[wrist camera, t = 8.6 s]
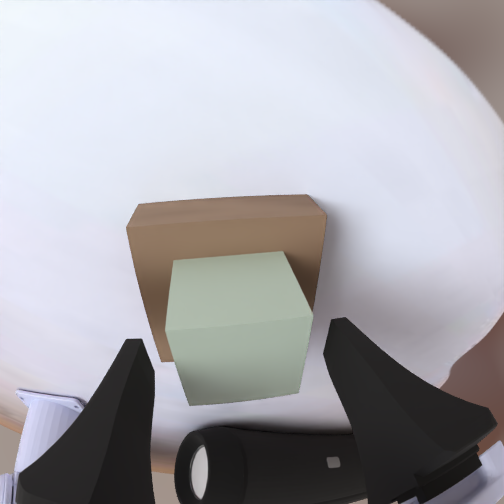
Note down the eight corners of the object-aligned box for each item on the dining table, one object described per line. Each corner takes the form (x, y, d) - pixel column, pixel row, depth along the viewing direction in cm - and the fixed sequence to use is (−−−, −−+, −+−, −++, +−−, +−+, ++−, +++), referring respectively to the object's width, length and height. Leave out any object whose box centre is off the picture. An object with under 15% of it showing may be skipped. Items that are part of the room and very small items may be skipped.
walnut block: (292, 314, 18) (305, 348, 16) (164, 324, 17) (161, 362, 15) (304, 191, 14) (327, 215, 12) (140, 200, 13) (125, 227, 11)
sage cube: (278, 328, 14) (298, 392, 11) (188, 337, 14) (189, 405, 10) (282, 251, 12) (313, 315, 9) (173, 260, 12) (165, 330, 8)
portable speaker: (384, 419, 31) (410, 477, 23) (335, 452, 35) (353, 505, 26) (209, 403, 22) (221, 513, 13) (169, 441, 25) (173, 524, 17)
